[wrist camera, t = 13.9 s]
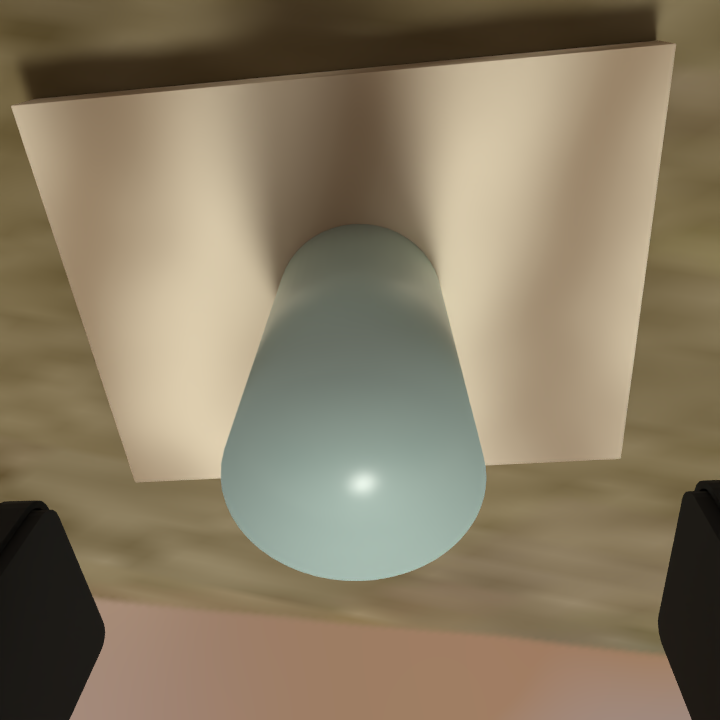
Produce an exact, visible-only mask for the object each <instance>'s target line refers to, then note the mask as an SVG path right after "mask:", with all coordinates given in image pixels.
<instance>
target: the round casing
mask: <svg viewBox="0 0 720 720" xmlns="http://www.w3.org/2000/svg"><path fill="white" fill-rule="evenodd" d="M221 484H222V491H223V495H224V498H225V502H226V505H227V507H228V509H229V511H230V513H231V515H232V517H233V519H234V520H235V522H236V523H237V525H238V527H239V528H240V529H241V530H242V532H243V533H244V534H245V535H246V536H247V537H248V539H249V540H250V541H252V542H253V543H254V544H255V545H256V546H257V547H258V548H259V549H261V550H262V551H263V552H265V553H266V554H268V555H269V556H270V557H272V558H273V559H275V560H277V561H279V562H281V563H283V564H284V565H286V566H289V567H291V568H293V569H296V570H298V571H301V572H304V573H307V574H311V575H314V576H318V577H323V578H328V579H335V580H345V581H365V580H377V579H383V578H388V577H393V576H397V575H400V574H404V573H407V572H410V571H412V570H415V569H417V568H420V567H422V566H424V565H426V564H428V563H430V562H432V561H434V560H435V559H437V558H438V557H440V556H441V555H443V554H444V553H446V552H447V551H448V550H449V549H450V548H452V547H453V546H454V545H455V544H456V543H457V542H458V541H459V540H460V539H461V538H462V537H463V536H464V534H465V533H466V532H467V531H468V529H469V528H470V526H471V525H472V523H473V522H474V520H475V519H476V516H477V514H478V512H479V510H480V508H481V505H482V501H483V498H484V494H485V487H486V466H485V461H484V456H483V452H482V448H481V444H480V440H479V436H478V432H477V428H476V424H475V420H474V417H473V413H472V409H471V405H470V401H469V397H468V393H467V389H466V385H465V381H464V377H463V373H462V369H461V366H460V362H459V358H458V354H457V350H456V346H455V342H454V338H453V334H452V330H451V326H450V322H449V318H448V315H447V311H446V307H445V303H444V299H443V295H442V291H441V287H440V283H439V279H438V277H437V274H436V271H435V269H434V267H433V266H432V264H431V262H430V260H429V259H428V258H427V256H426V255H425V254H424V252H423V251H422V250H421V249H420V248H419V247H418V246H417V245H416V244H414V243H413V242H412V241H410V240H409V239H408V238H406V237H404V236H403V235H401V234H399V233H397V232H395V231H393V230H390V229H388V228H384V227H380V226H376V225H369V224H350V225H343V226H339V227H335V228H331V229H329V230H327V231H324V232H322V233H320V234H318V235H316V236H315V237H313V238H311V239H310V240H309V241H307V242H306V243H305V244H304V245H303V246H302V247H301V248H300V249H299V250H298V251H297V252H296V253H295V254H294V256H293V257H292V258H291V260H290V261H289V263H288V265H287V267H286V268H285V271H284V273H283V276H282V278H281V281H280V284H279V287H278V290H277V293H276V296H275V299H274V302H273V305H272V308H271V311H270V314H269V317H268V320H267V323H266V326H265V329H264V332H263V335H262V338H261V341H260V344H259V347H258V350H257V353H256V356H255V359H254V362H253V365H252V368H251V371H250V374H249V377H248V380H247V383H246V386H245V389H244V392H243V395H242V398H241V401H240V404H239V407H238V410H237V413H236V416H235V419H234V422H233V425H232V428H231V431H230V434H229V437H228V440H227V443H226V446H225V448H224V453H223V457H222V462H221Z"/></svg>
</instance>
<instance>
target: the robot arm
mask: <svg viewBox="0 0 720 720" xmlns="http://www.w3.org/2000/svg"><path fill="white" fill-rule="evenodd" d="M658 628H659V635H660V639H661V642H662V645H663V648H664V651H665V653H666V656H667V658H668V661H669V663H670V666H671V668H672V671H673V673H674V676H675V678H676V681H677V683H678V686H679V688H680V691H681V693H682V696H683V699H684V701H685V704H686V706H687V709H688V711H689V714H690V716H691V719H692V720H720V480H707V481H699V483H698V484H697V485H696V488H695V491H688V492H685V494H684V495H683V498H682V503H681V508H680V513H679V518H678V523H677V528H676V533H675V538H674V542H673V547H672V552H671V557H670V562H669V567H668V572H667V577H666V582H665V587H664V592H663V597H662V602H661V607H660V612H659V617H658ZM104 638H105V627H104V623H103V620H102V618H101V616H100V613H99V611H98V609H97V606H96V604H95V601H94V599H93V597H92V594H91V592H90V589H89V587H88V585H87V582H86V580H85V578H84V575H83V573H82V571H81V568H80V566H79V563H78V561H77V559H76V556H75V554H74V552H73V549H72V547H71V544H70V542H69V540H68V537H67V535H66V533H65V530H64V528H63V526H62V523H61V521H60V518H59V516H58V514H57V513H56V512H55V511H54V510H49V508H48V507H47V505H46V504H45V503H44V502H42V501H9V502H2V503H0V720H69V719H70V717H71V715H72V713H73V711H74V708H75V706H76V704H77V702H78V700H79V697H80V695H81V693H82V691H83V689H84V687H85V684H86V682H87V680H88V678H89V676H90V673H91V671H92V669H93V667H94V664H95V662H96V660H97V658H98V656H99V654H100V651H101V649H102V646H103V643H104Z"/></svg>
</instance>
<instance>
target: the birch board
mask: <svg viewBox="0 0 720 720" xmlns="http://www.w3.org/2000/svg"><path fill="white" fill-rule="evenodd" d="M675 48H676V44H675V43H669V42H663V41H647V42H636V43H625V44H615V45H604V46H593V47H583V48H572V49H562V50H551V51H540V52H530V53H519V54H508V55H498V56H487V57H477V58H466V59H455V60H445V61H434V62H423V63H413V64H402V65H392V66H381V67H370V68H360V69H349V70H338V71H328V72H317V73H306V74H296V75H285V76H275V77H264V78H253V79H243V80H232V81H221V82H211V83H200V84H190V85H179V86H168V87H158V88H147V89H136V90H126V91H115V92H104V93H94V94H83V95H73V96H62V97H51V98H41V99H33V100H29V101H26V102H23V103H19V104H16V105H12V106H11V107H12V110H13V113H14V116H15V119H16V122H17V125H18V128H19V131H20V135H21V138H22V141H23V144H24V147H25V150H26V153H27V156H28V159H29V162H30V165H31V168H32V171H33V174H34V177H35V180H36V183H37V186H38V189H39V192H40V195H41V198H42V201H43V204H44V207H45V210H46V213H47V216H48V219H49V222H50V225H51V228H52V231H53V234H54V237H55V240H56V243H57V247H58V250H59V253H60V256H61V259H62V262H63V265H64V268H65V271H66V274H67V277H68V280H69V283H70V286H71V289H72V292H73V295H74V298H75V301H76V304H77V307H78V310H79V313H80V316H81V319H82V322H83V325H84V328H85V331H86V334H87V337H88V340H89V343H90V346H91V349H92V352H93V356H94V359H95V362H96V365H97V368H98V371H99V374H100V377H101V380H102V383H103V386H104V389H105V392H106V395H107V398H108V401H109V404H110V407H111V410H112V413H113V416H114V419H115V422H116V425H117V428H118V431H119V434H120V437H121V440H122V443H123V446H124V449H125V452H126V455H127V458H128V461H129V465H130V468H131V471H132V474H133V477H134V480H135V482H152V481H173V480H193V479H214V478H221V462H222V457H223V453H224V448H225V446H226V443H227V440H228V437H229V434H230V431H231V428H232V425H233V422H234V419H235V416H236V413H237V410H238V407H239V404H240V401H241V398H242V395H243V392H244V389H245V386H246V383H247V380H248V377H249V374H250V371H251V368H252V365H253V362H254V359H255V356H256V353H257V350H258V347H259V344H260V341H261V338H262V335H263V332H264V329H265V326H266V323H267V320H268V317H269V314H270V311H271V308H272V305H273V302H274V299H275V296H276V293H277V290H278V287H279V284H280V281H281V278H282V276H283V273H284V271H285V268H286V267H287V265H288V263H289V261H290V260H291V258H292V257H293V256H294V254H295V253H296V252H297V251H298V250H299V249H300V248H301V247H302V246H303V245H304V244H305V243H306V242H307V241H309V240H310V239H311V238H313V237H315V236H316V235H318V234H320V233H322V232H324V231H327V230H329V229H331V228H335V227H339V226H343V225H350V224H369V225H376V226H380V227H384V228H388V229H390V230H393V231H395V232H397V233H399V234H401V235H403V236H404V237H406V238H408V239H409V240H410V241H412V242H413V243H414V244H416V245H417V246H418V247H419V248H420V249H421V250H422V251H423V252H424V254H425V255H426V256H427V258H428V259H429V260H430V262H431V264H432V266H433V267H434V269H435V271H436V274H437V277H438V279H439V283H440V287H441V291H442V295H443V299H444V303H445V307H446V311H447V315H448V318H449V322H450V326H451V330H452V334H453V338H454V342H455V346H456V350H457V354H458V358H459V362H460V366H461V369H462V373H463V377H464V381H465V385H466V389H467V393H468V397H469V401H470V405H471V409H472V413H473V417H474V420H475V424H476V428H477V432H478V436H479V440H480V444H481V448H482V452H483V456H484V461H485V465H500V464H521V463H541V462H562V461H582V460H603V459H621V452H622V444H623V437H624V429H625V422H626V414H627V407H628V399H629V392H630V384H631V377H632V369H633V362H634V354H635V347H636V340H637V332H638V325H639V317H640V310H641V302H642V295H643V287H644V280H645V272H646V265H647V257H648V250H649V242H650V235H651V227H652V220H653V212H654V205H655V198H656V190H657V183H658V175H659V168H660V160H661V153H662V145H663V138H664V130H665V123H666V115H667V108H668V100H669V93H670V85H671V78H672V71H673V63H674V56H675Z"/></svg>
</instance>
